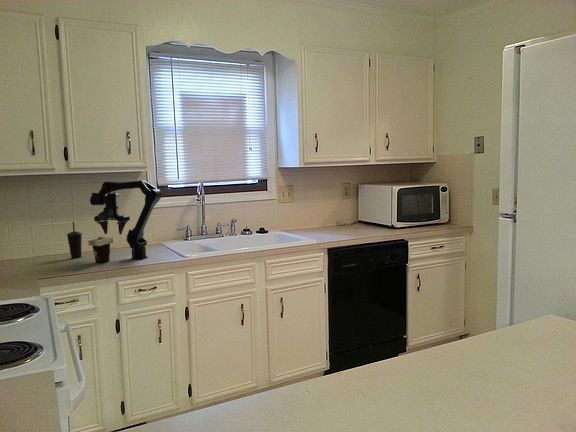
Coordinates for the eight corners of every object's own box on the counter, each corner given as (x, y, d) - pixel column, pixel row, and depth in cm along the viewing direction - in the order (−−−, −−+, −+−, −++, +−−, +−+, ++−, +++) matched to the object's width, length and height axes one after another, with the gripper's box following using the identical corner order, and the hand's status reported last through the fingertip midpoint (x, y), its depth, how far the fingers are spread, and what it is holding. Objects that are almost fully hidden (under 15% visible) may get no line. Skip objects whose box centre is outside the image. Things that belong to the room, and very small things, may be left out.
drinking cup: (69, 257, 260) (66, 221, 257) (84, 256, 262) (81, 220, 260) (68, 260, 253) (64, 223, 250) (83, 259, 255) (80, 222, 253)
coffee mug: (93, 262, 246) (91, 243, 245) (111, 260, 249) (109, 241, 248) (94, 266, 235) (92, 246, 234) (112, 264, 239) (111, 244, 238)
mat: (100, 264, 239) (100, 263, 239) (77, 271, 224) (77, 271, 224) (77, 263, 244) (77, 262, 244) (53, 270, 229) (53, 269, 229)
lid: (113, 242, 245) (112, 235, 244) (99, 246, 235) (99, 239, 235) (102, 242, 247) (101, 235, 247) (88, 245, 238) (87, 238, 237)
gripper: (85, 206, 246) (88, 236, 248) (115, 206, 240) (117, 237, 242) (100, 204, 257) (102, 233, 259) (129, 204, 251) (131, 233, 253)
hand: (113, 234), depth 253 cm, fingers open, 9 cm apart
